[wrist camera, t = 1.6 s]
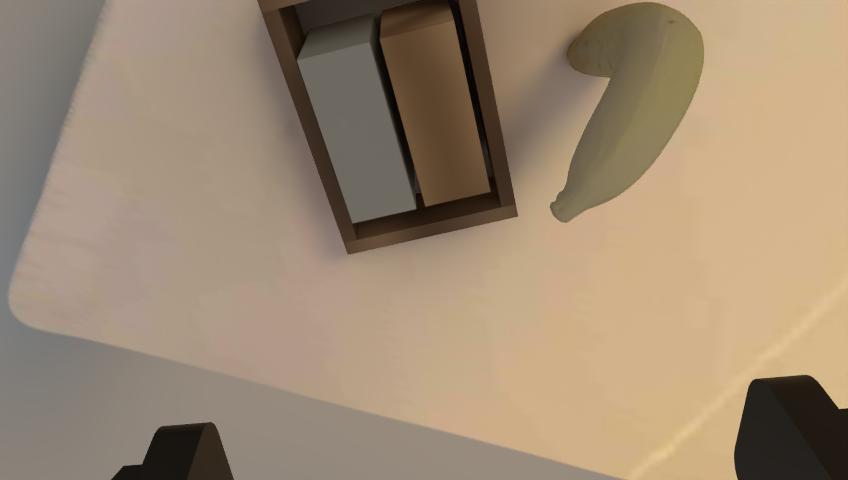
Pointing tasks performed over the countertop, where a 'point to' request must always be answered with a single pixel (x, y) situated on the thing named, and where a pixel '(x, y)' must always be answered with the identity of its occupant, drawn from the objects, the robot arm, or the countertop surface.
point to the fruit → (630, 98)
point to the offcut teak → (434, 100)
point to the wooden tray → (422, 220)
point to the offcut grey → (359, 117)
